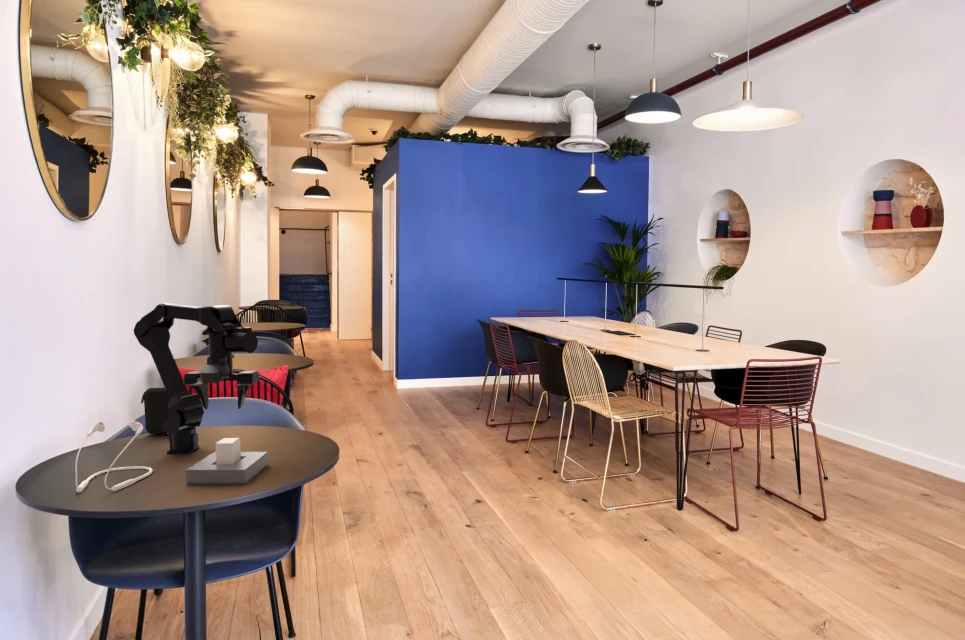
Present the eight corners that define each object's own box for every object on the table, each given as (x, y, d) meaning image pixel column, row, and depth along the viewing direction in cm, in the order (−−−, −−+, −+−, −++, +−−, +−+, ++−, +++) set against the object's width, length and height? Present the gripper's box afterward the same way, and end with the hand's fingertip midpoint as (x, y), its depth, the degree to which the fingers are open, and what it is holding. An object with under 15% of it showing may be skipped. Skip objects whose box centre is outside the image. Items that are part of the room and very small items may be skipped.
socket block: (186, 484, 150) (186, 469, 150) (214, 465, 165) (214, 451, 165) (245, 484, 150) (244, 469, 150) (268, 465, 165) (267, 451, 165)
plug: (216, 475, 155) (215, 443, 155) (227, 467, 162) (226, 436, 161) (233, 475, 155) (231, 443, 154) (243, 467, 161) (242, 436, 161)
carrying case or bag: (140, 436, 195) (138, 389, 194) (145, 433, 198) (142, 387, 197) (177, 435, 196) (174, 388, 195) (180, 432, 199) (178, 386, 198)
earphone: (54, 482, 141) (86, 416, 154) (85, 519, 153) (112, 455, 166) (117, 480, 142) (144, 415, 155) (143, 517, 154) (165, 453, 166)
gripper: (171, 356, 164) (174, 415, 165) (243, 355, 163) (245, 415, 164) (192, 350, 175) (194, 406, 176) (259, 350, 174) (261, 406, 176)
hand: (223, 408), depth 173 cm, fingers open, 9 cm apart
